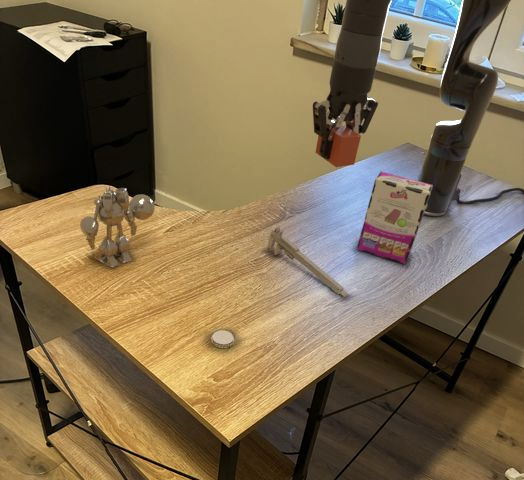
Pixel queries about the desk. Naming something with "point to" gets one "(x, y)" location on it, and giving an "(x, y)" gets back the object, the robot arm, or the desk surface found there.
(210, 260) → the desk surface
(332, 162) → the block
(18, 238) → the desk surface
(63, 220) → the desk surface
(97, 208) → the robot toy
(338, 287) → the caliper
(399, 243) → the candy bar box
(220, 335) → the ridged bottle cap
